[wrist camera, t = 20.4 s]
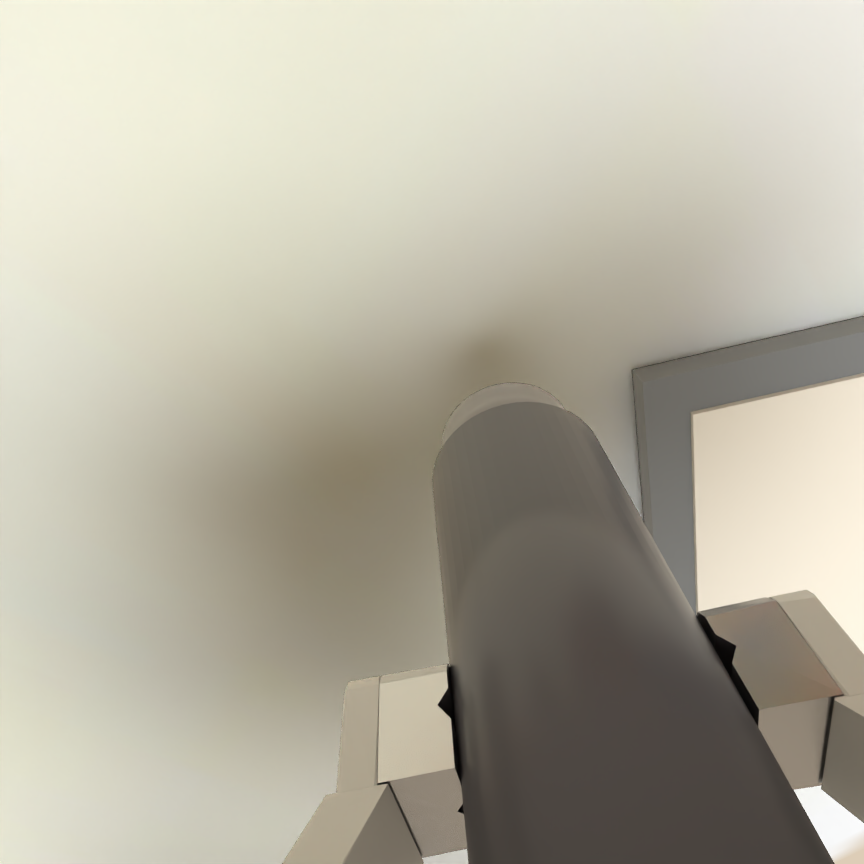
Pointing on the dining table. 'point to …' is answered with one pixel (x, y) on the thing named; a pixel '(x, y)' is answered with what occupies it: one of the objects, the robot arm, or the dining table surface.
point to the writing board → (760, 469)
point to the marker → (587, 664)
